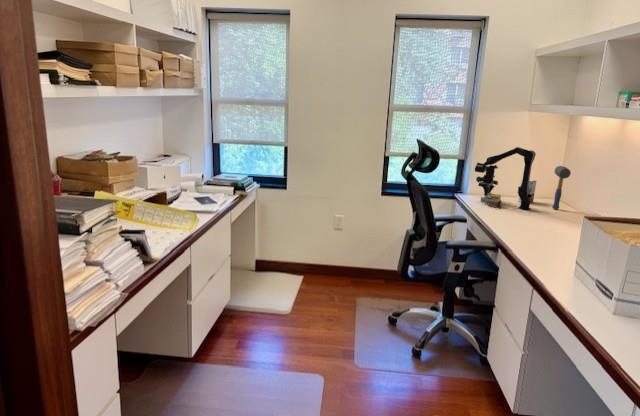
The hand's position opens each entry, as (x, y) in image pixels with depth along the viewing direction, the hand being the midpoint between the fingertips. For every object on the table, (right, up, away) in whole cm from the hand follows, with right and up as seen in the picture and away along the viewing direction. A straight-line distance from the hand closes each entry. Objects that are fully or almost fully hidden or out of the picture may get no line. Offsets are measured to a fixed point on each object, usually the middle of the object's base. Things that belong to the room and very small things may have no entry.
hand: (486, 195), depth 313 cm
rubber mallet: (+43, -10, -12) cm, 46 cm away
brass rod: (+3, -2, -3) cm, 4 cm away
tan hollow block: (+1, -8, -12) cm, 14 cm away
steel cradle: (+2, -5, -1) cm, 6 cm away
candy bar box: (+31, -5, +5) cm, 31 cm away
